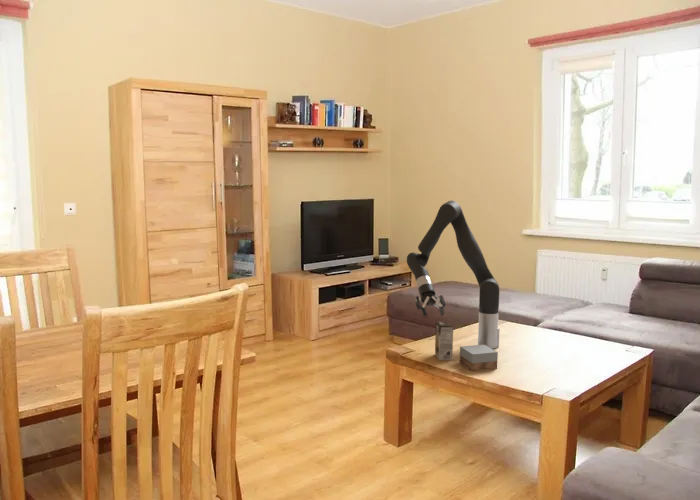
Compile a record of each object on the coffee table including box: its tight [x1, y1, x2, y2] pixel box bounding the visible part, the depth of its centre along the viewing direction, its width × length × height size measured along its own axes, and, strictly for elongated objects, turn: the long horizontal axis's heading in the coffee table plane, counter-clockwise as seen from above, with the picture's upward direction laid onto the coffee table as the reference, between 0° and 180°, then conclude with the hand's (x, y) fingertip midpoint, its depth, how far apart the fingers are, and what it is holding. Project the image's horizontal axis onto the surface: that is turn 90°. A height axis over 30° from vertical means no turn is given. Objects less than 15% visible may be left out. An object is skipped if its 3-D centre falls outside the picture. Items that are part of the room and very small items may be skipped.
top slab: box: [459, 344, 499, 363], centre depth 273 cm, size 12×12×4 cm
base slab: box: [459, 355, 498, 372], centre depth 274 cm, size 12×12×4 cm
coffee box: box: [434, 320, 454, 361], centre depth 285 cm, size 9×6×16 cm
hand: (434, 315), depth 294 cm, fingers open, 8 cm apart
